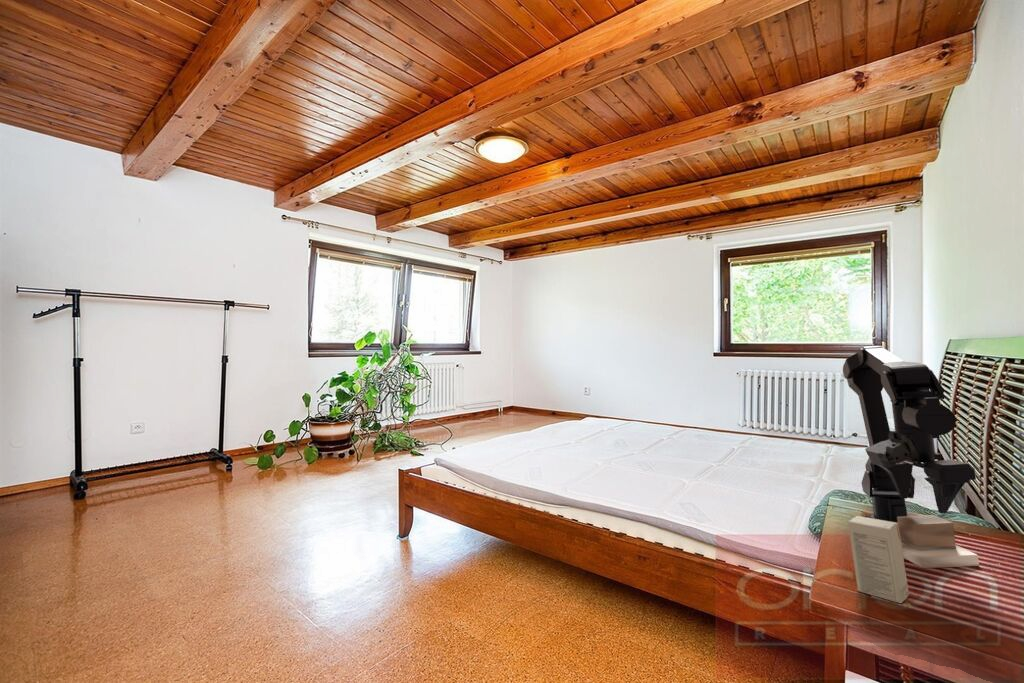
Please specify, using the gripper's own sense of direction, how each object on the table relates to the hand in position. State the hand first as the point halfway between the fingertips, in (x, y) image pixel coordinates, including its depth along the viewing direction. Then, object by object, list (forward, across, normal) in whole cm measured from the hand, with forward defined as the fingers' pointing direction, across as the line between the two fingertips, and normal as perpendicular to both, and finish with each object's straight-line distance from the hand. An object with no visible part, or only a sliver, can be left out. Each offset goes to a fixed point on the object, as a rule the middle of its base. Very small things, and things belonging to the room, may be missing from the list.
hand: (922, 505), depth 90 cm
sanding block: (+8, 0, 0) cm, 8 cm away
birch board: (+10, 0, 0) cm, 10 cm away
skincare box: (+10, +13, -18) cm, 24 cm away
